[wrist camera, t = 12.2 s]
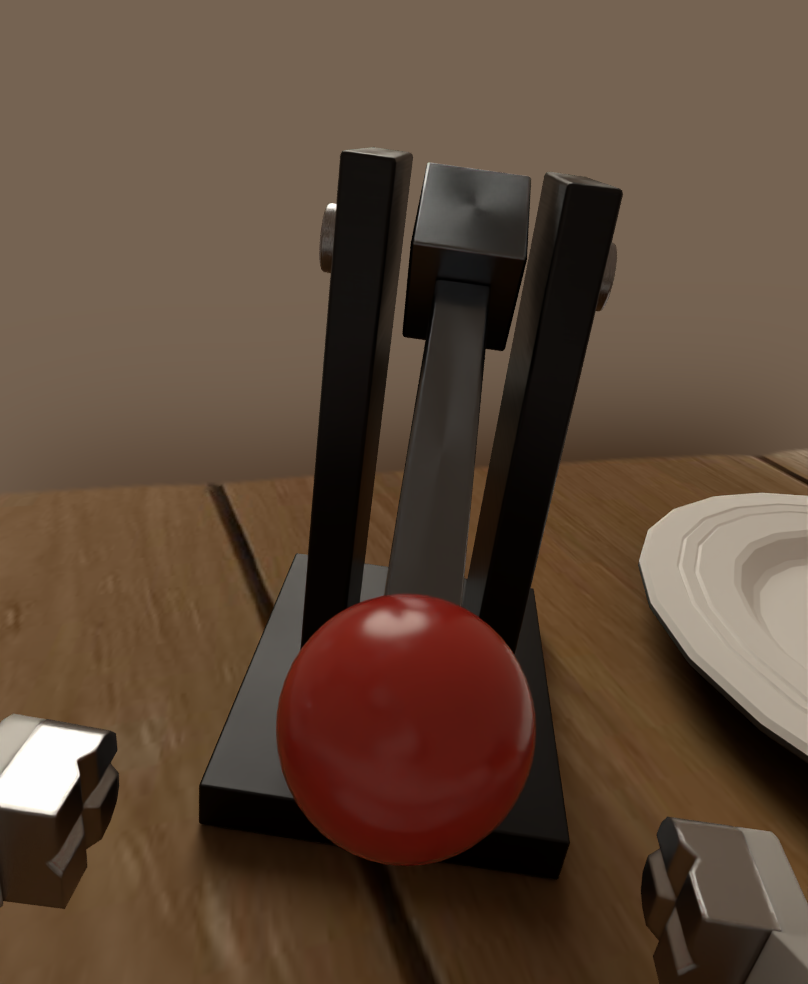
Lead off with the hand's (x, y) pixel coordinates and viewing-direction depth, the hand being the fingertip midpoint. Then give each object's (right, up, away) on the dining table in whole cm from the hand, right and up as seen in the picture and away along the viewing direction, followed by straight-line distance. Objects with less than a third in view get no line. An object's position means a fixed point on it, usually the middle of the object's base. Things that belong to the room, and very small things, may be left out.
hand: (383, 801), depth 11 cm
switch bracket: (0, -1, +10) cm, 10 cm away
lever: (+1, +4, +3) cm, 5 cm away
